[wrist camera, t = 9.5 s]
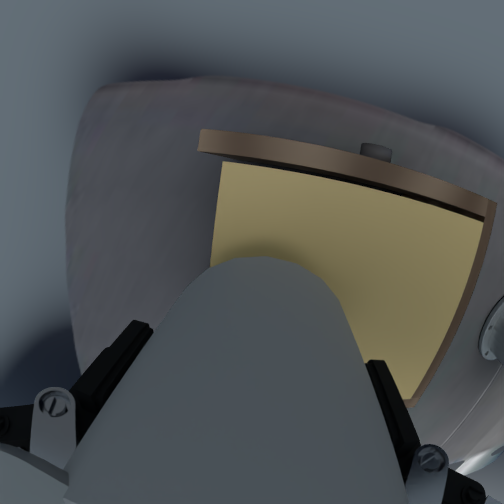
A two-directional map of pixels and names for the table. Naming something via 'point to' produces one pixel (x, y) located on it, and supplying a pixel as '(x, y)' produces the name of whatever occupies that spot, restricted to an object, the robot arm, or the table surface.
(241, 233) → the trapdoor flap
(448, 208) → the trapdoor frame
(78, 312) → the table surface
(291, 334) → the can
